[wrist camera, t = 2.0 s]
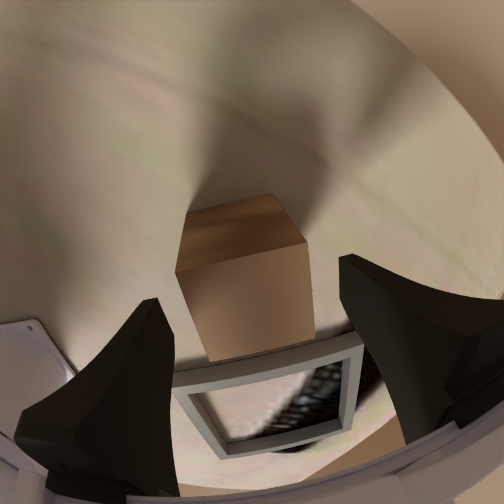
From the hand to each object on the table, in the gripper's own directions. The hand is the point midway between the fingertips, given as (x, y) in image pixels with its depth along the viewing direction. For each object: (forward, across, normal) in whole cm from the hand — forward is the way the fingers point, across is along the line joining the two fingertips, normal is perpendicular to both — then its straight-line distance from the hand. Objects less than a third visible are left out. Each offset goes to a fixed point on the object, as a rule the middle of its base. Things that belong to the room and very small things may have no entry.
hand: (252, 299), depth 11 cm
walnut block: (+5, 0, 0) cm, 5 cm away
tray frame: (+5, 0, +16) cm, 17 cm away
